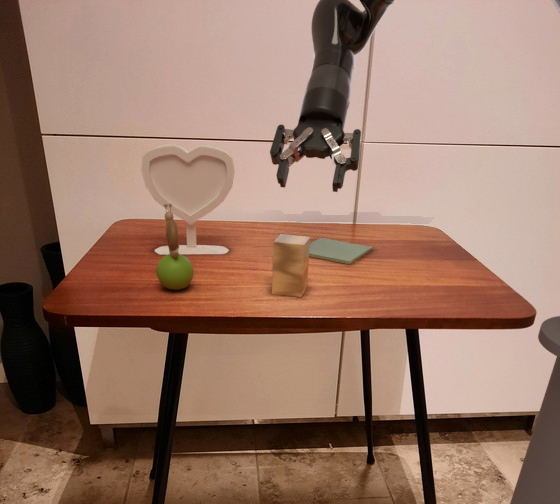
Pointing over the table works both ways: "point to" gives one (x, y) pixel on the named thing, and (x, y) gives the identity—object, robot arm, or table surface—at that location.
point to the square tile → (337, 250)
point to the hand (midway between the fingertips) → (308, 186)
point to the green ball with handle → (173, 259)
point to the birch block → (290, 265)
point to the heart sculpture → (188, 186)
